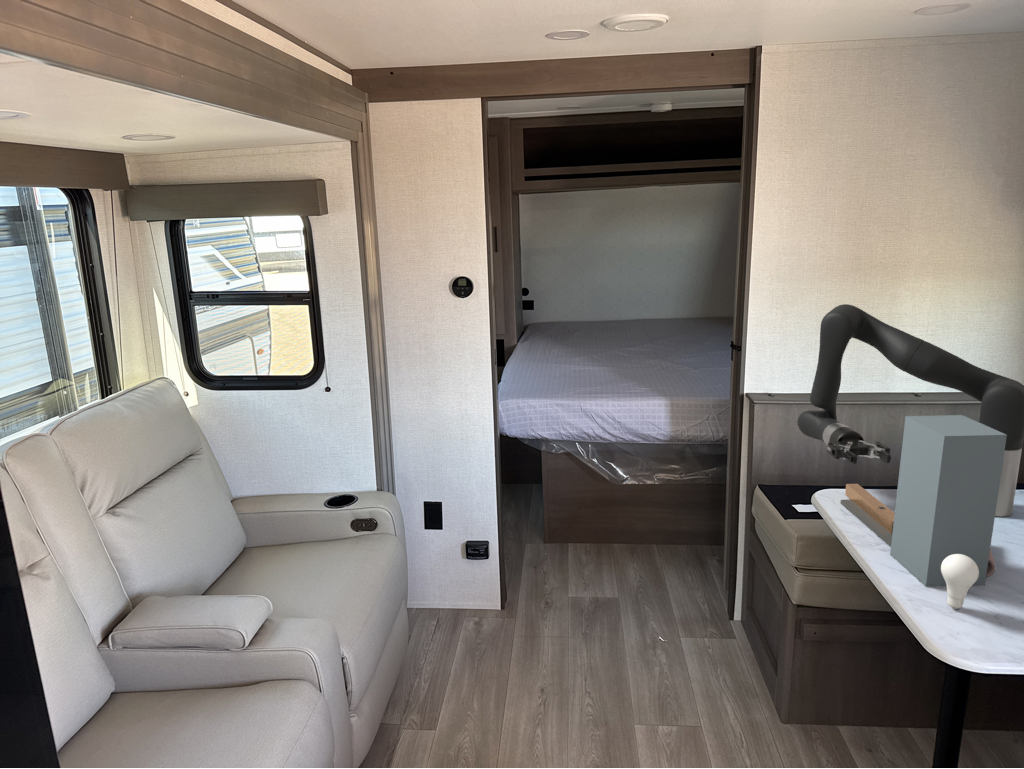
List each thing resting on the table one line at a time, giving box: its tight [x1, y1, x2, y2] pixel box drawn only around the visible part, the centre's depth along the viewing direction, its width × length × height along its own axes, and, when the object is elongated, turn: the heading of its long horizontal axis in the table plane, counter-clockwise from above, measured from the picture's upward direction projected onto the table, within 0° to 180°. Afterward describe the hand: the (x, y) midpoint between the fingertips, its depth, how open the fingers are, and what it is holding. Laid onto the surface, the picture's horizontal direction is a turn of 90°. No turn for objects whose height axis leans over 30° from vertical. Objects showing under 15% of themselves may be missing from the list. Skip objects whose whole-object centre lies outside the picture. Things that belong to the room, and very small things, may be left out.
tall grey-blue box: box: [889, 414, 1007, 588], centre depth 149 cm, size 14×12×32 cm
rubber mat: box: [840, 499, 892, 548], centre depth 175 cm, size 26×8×1 cm, turn 0°
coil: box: [986, 547, 996, 578], centre depth 157 cm, size 5×5×18 cm
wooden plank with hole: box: [844, 483, 895, 534], centre depth 179 cm, size 24×3×3 cm, turn 0°
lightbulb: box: [941, 554, 979, 610], centre depth 137 cm, size 6×6×11 cm
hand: (872, 459), depth 178 cm, fingers open, 8 cm apart
